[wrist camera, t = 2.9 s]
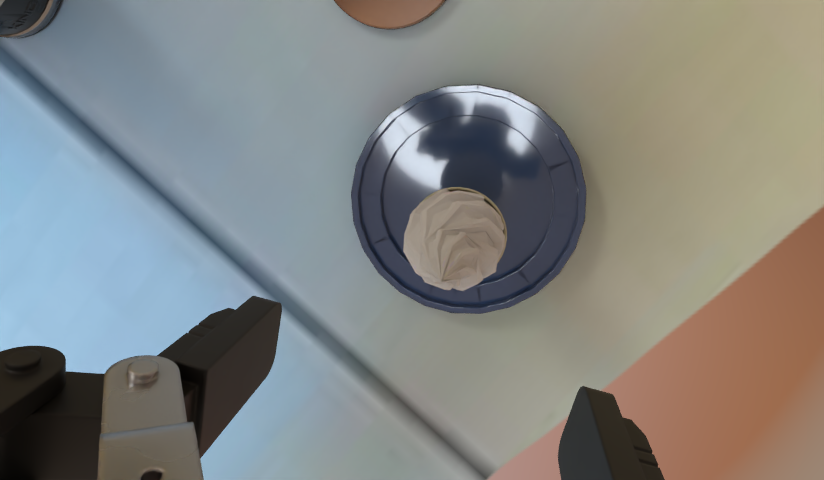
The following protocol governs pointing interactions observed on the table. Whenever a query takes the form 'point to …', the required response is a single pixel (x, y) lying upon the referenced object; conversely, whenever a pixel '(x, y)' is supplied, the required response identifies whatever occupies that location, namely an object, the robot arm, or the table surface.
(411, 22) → the coaster
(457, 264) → the ice cream cone
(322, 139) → the table surface
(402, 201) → the plate
